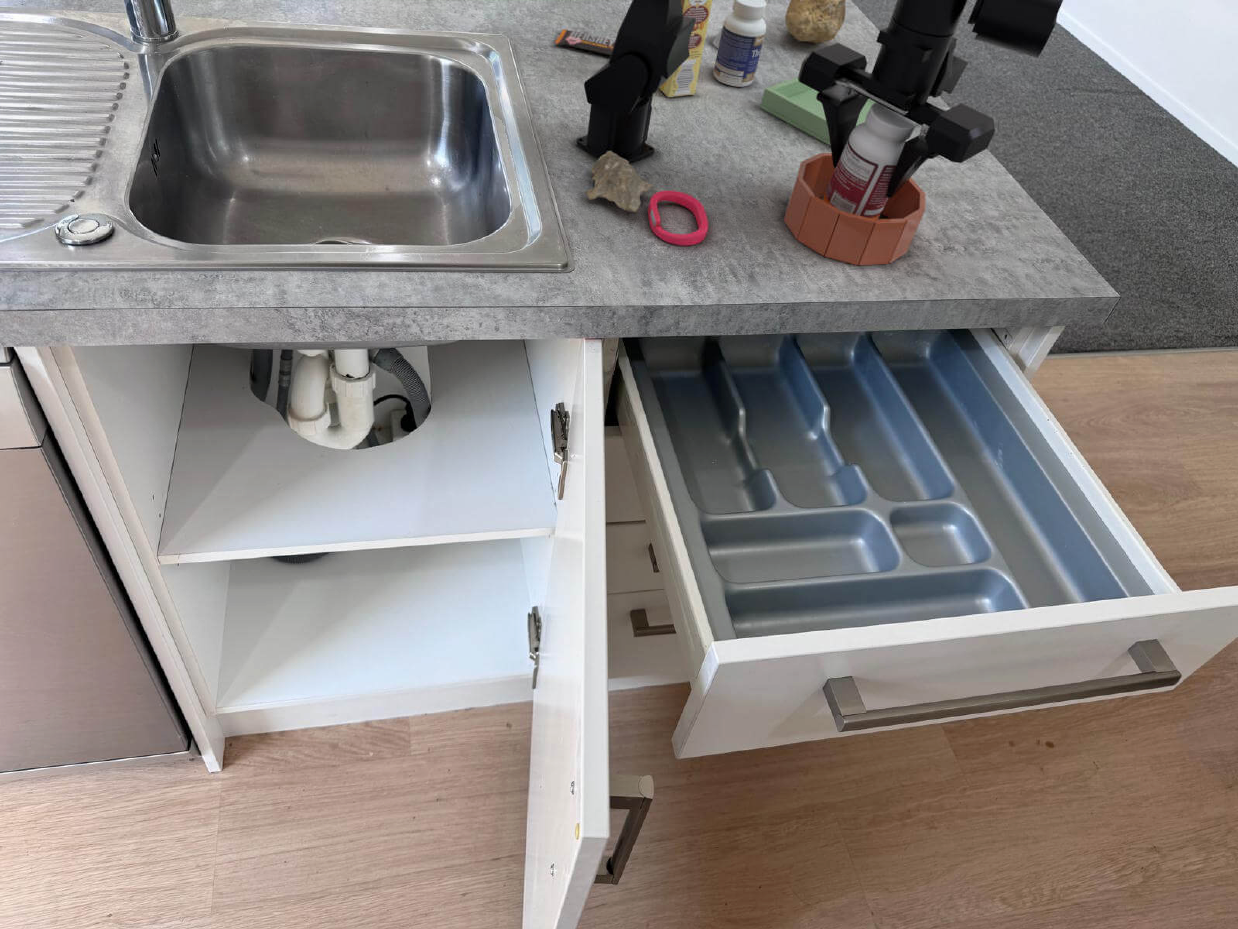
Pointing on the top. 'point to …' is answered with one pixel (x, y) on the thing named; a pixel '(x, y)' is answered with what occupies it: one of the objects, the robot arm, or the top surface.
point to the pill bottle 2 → (869, 163)
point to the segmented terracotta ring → (850, 219)
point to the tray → (802, 108)
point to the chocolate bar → (586, 41)
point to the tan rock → (815, 19)
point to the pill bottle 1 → (741, 43)
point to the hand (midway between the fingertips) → (863, 181)
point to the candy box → (690, 51)
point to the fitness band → (688, 203)
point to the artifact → (617, 182)
